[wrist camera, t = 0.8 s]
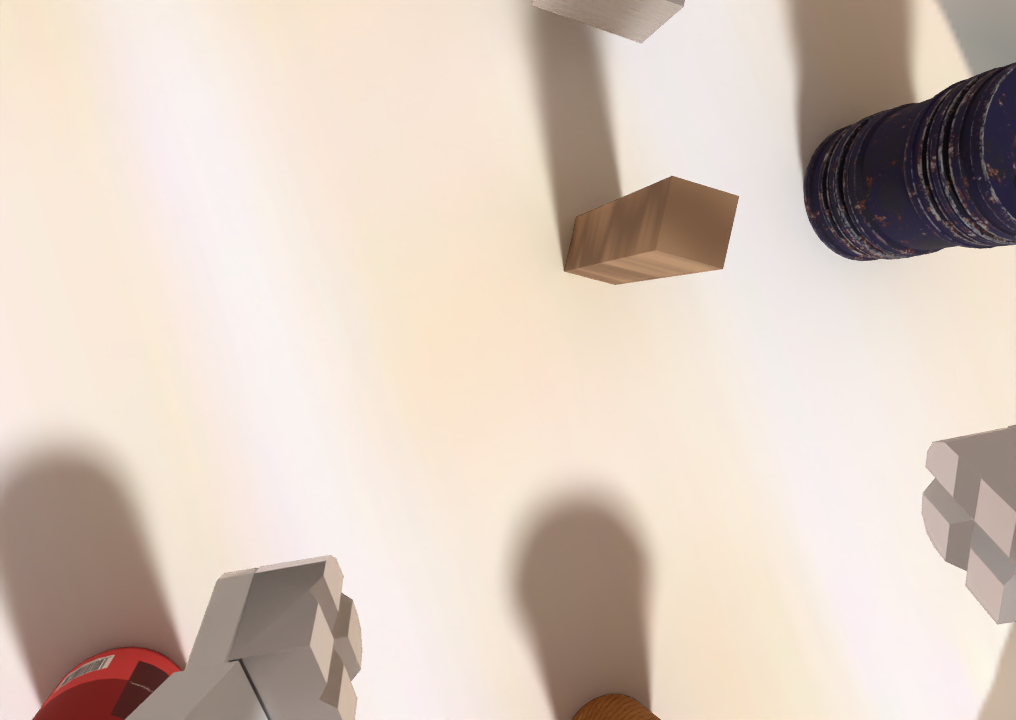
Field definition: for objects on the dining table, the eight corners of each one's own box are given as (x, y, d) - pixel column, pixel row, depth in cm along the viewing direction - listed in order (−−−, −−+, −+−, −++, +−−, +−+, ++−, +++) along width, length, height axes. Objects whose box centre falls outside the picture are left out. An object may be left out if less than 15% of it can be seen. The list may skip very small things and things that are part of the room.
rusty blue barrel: (866, 93, 55) (1062, 9, 40) (945, 196, 57) (1161, 151, 42) (775, 188, 54) (946, 137, 39) (860, 291, 55) (1052, 279, 41)
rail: (615, 284, 51) (723, 268, 37) (564, 271, 50) (655, 250, 37) (627, 231, 51) (739, 196, 37) (576, 217, 50) (672, 175, 37)
